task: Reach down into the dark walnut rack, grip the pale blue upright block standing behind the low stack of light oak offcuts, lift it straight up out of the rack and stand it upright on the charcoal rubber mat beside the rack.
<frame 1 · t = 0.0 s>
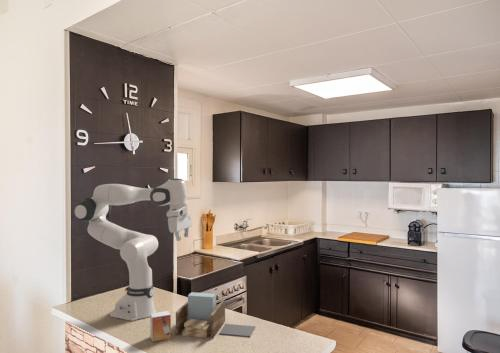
hand: (182, 238, 179), 39 cm above the counter, tool pointing down, fingers open, 8 cm apart
offcut stack: (196, 334, 162), on the counter
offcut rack: (201, 327, 168), on the counter
small box: (160, 338, 158), on the counter
rubber mat: (237, 330, 164), on the counter
pale blue upright block: (202, 326, 169), resting in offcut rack
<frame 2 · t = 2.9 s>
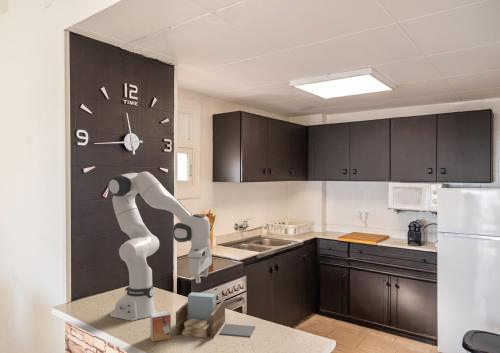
hand: (201, 279, 168), 22 cm above the counter, tool pointing down, fingers open, 8 cm apart
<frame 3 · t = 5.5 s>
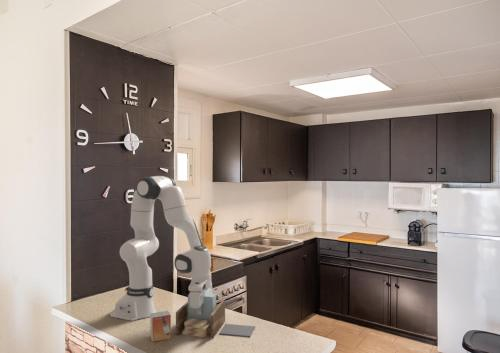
hand: (202, 311, 168), 7 cm above the counter, tool pointing down, fingers closed on pale blue upright block, 4 cm apart
pale blue upright block: (202, 326, 169), resting in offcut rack, touching gripper
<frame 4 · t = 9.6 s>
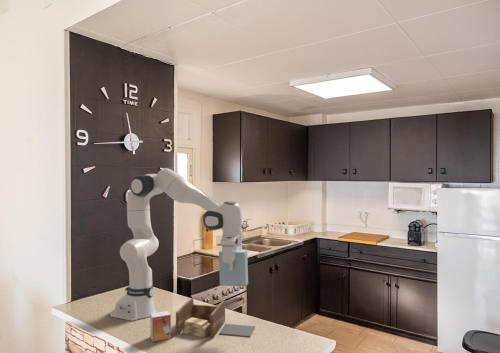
hand: (233, 268, 164), 28 cm above the counter, tool pointing down, fingers closed on pale blue upright block, 4 cm apart
pale blue upright block: (234, 284, 164), point 21 cm above the counter, touching gripper
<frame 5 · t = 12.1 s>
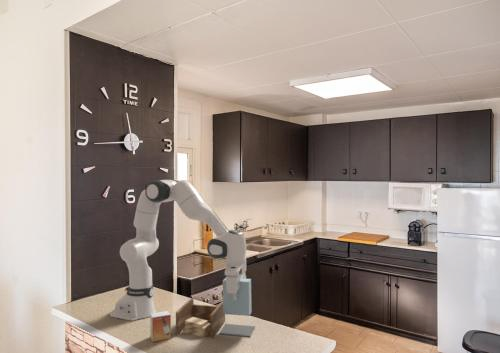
hand: (237, 297, 164), 15 cm above the counter, tool pointing down, fingers closed on pale blue upright block, 4 cm apart
pale blue upright block: (237, 313, 164), point 8 cm above the counter, touching gripper
when the fingers open (9 cm above the counter, at t = 14.1 s): pale blue upright block drops 1 cm, resting on rubber mat.
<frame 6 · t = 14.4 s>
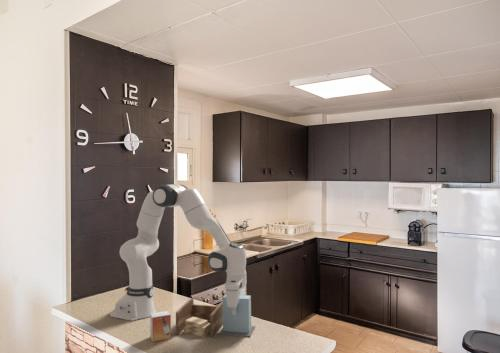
hand: (237, 310, 164), 9 cm above the counter, tool pointing down, fingers open, 7 cm apart
pale blue upright block: (237, 329, 164), resting on rubber mat
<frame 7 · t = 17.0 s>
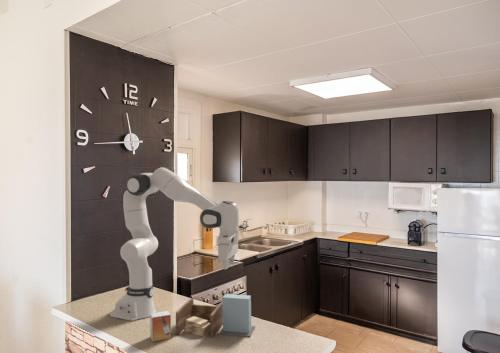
hand: (228, 266, 169), 28 cm above the counter, tool pointing down, fingers open, 8 cm apart
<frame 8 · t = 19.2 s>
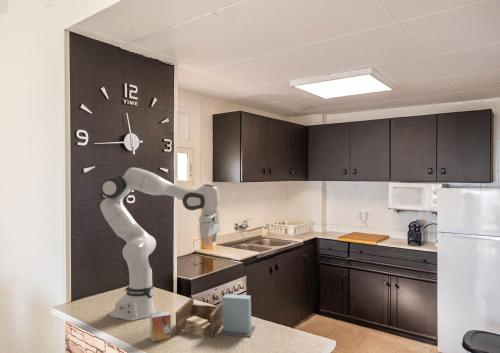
hand: (211, 243, 185), 35 cm above the counter, tool pointing down, fingers open, 8 cm apart
at the end: pale blue upright block inside the target area on the rubber mat (0.1 cm from its centre), point 0.5 cm above the rubber mat's base; pale blue upright block tilted 0°; offcut stack moved 2.5 cm from its start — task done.
